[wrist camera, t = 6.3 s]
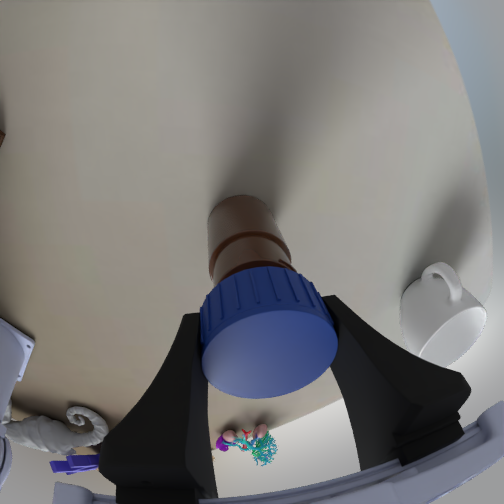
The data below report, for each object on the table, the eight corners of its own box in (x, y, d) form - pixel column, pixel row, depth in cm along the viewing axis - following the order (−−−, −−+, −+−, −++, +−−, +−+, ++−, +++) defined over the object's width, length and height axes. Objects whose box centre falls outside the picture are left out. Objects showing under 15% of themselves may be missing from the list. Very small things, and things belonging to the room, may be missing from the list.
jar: (247, 264, 22) (265, 340, 16) (194, 235, 21) (192, 308, 14) (286, 217, 21) (322, 282, 15) (233, 182, 19) (248, 238, 13)
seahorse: (67, 394, 26) (-28, 416, 23) (123, 459, 29) (22, 470, 27) (78, 368, 31) (-15, 395, 28) (126, 431, 34) (30, 448, 32)
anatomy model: (216, 451, 29) (219, 474, 32) (287, 443, 30) (281, 467, 33) (212, 416, 33) (215, 442, 36) (278, 410, 35) (273, 437, 38)
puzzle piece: (84, 450, 28) (89, 461, 27) (126, 449, 38) (130, 458, 37) (37, 465, 26) (41, 476, 25) (83, 464, 36) (86, 473, 36)
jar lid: (325, 256, 12) (349, 297, 10) (314, 346, 15) (329, 387, 13) (189, 272, 12) (187, 319, 10) (208, 361, 15) (210, 405, 12)
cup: (383, 334, 29) (412, 384, 23) (382, 256, 24) (425, 309, 18) (443, 307, 29) (476, 349, 23) (453, 229, 24) (501, 270, 18)
